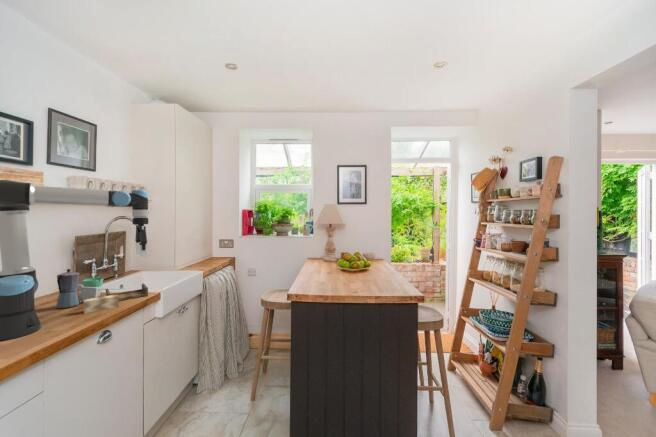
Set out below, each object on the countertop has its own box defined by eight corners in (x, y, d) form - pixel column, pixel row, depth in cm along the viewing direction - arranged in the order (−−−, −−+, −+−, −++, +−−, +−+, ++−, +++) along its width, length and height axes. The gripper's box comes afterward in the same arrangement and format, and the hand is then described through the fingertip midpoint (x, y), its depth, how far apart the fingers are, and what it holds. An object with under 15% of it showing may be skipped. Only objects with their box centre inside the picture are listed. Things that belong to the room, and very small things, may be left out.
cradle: (108, 302, 157) (107, 294, 157) (106, 297, 167) (105, 289, 167) (148, 295, 170) (147, 287, 170) (143, 291, 180) (143, 283, 180)
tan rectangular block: (84, 313, 141) (83, 302, 141) (83, 311, 144) (83, 299, 144) (118, 307, 150) (118, 296, 150) (117, 305, 154) (117, 294, 154)
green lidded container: (100, 296, 169) (100, 280, 169) (79, 298, 165) (79, 281, 165) (108, 290, 183) (108, 275, 182) (89, 292, 179) (89, 276, 179)
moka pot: (85, 301, 161) (84, 266, 160) (71, 309, 146) (70, 271, 146) (64, 303, 157) (63, 267, 157) (48, 312, 143) (47, 273, 142)
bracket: (99, 301, 164) (101, 284, 164) (94, 303, 160) (96, 286, 160) (77, 299, 162) (80, 282, 162) (72, 302, 158) (74, 284, 158)
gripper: (152, 217, 152) (153, 256, 152) (144, 217, 170) (144, 252, 171) (136, 217, 147) (137, 258, 147) (129, 217, 165) (129, 253, 166)
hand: (141, 254), depth 159 cm, fingers open, 13 cm apart
